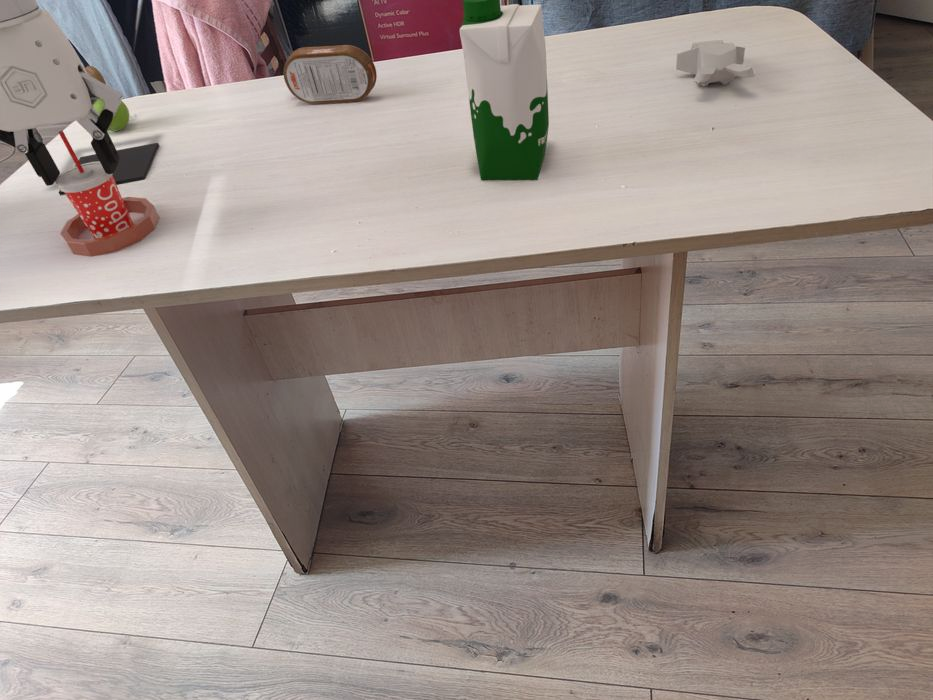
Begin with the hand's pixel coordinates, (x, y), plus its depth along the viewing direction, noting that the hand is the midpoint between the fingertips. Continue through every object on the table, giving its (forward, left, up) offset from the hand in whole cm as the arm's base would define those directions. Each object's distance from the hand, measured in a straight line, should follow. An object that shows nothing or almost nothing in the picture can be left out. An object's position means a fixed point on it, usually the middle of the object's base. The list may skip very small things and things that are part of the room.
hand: (83, 173), depth 78 cm
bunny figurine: (+83, +14, -9) cm, 85 cm away
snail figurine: (-9, +40, -9) cm, 42 cm away
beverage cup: (0, 0, -9) cm, 9 cm away
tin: (+28, +34, -9) cm, 45 cm away
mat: (-6, +23, -9) cm, 25 cm away
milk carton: (+50, -1, -9) cm, 51 cm away
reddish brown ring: (0, 0, -9) cm, 9 cm away
